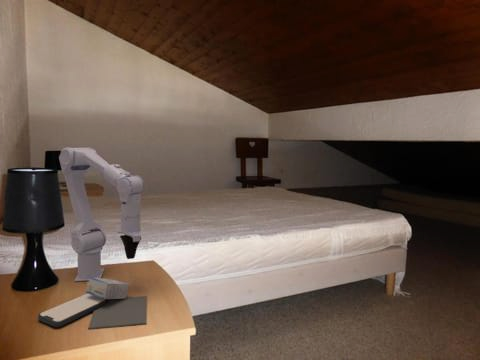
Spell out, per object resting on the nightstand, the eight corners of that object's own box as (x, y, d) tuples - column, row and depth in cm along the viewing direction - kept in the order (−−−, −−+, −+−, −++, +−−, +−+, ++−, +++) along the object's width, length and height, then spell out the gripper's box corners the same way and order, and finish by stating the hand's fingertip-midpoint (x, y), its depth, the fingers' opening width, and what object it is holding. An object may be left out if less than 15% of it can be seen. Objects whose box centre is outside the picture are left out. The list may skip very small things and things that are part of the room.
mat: (97, 300, 104) (97, 299, 104) (146, 297, 108) (146, 295, 108) (88, 329, 89) (88, 327, 89) (146, 324, 92) (146, 322, 92)
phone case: (88, 297, 106) (35, 320, 92) (88, 292, 106) (35, 314, 92) (109, 304, 102) (57, 329, 88) (109, 298, 101) (57, 323, 87)
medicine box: (130, 283, 106) (108, 282, 99) (126, 299, 105) (104, 299, 98) (111, 278, 110) (89, 277, 102) (108, 293, 109) (84, 293, 101)
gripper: (112, 211, 113) (112, 252, 115) (123, 221, 101) (123, 267, 103) (134, 210, 117) (134, 250, 119) (147, 219, 105) (147, 264, 106)
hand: (130, 258), depth 111 cm, fingers closed
